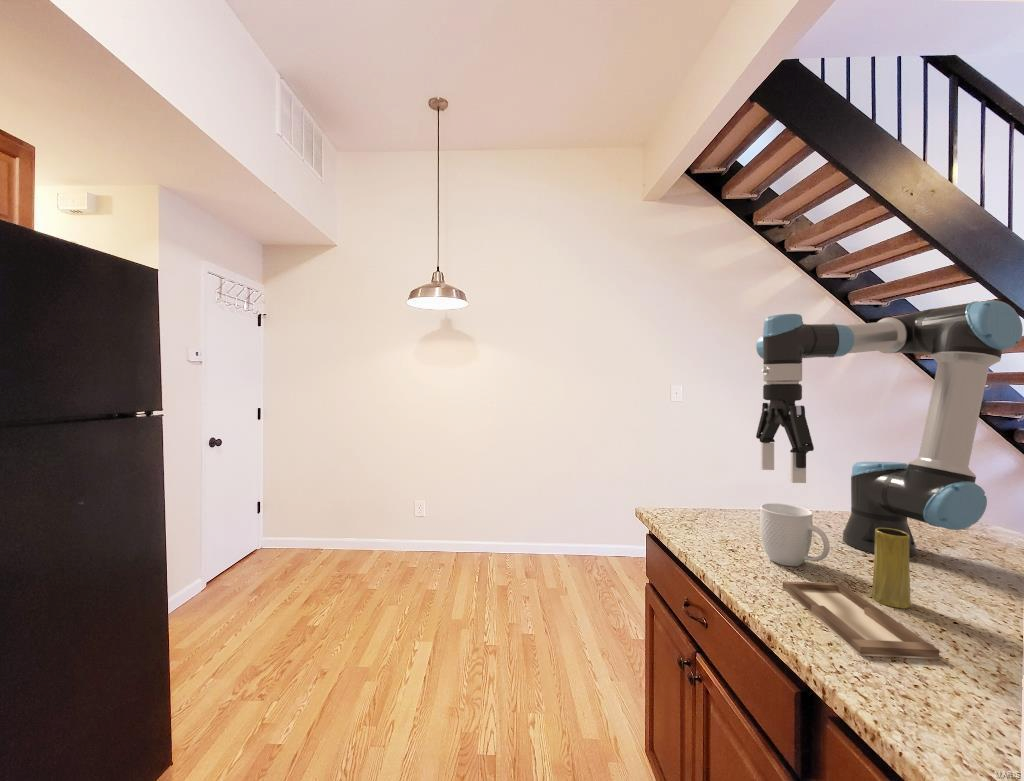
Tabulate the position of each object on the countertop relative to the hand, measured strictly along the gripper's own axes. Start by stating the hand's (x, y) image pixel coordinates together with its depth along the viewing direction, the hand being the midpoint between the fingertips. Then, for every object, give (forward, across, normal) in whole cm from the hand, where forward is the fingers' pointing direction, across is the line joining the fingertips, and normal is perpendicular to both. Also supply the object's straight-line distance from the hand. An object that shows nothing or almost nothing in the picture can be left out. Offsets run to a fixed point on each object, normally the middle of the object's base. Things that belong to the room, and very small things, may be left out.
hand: (781, 475), depth 98 cm
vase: (+24, +10, +16) cm, 30 cm away
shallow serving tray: (+23, +18, +4) cm, 29 cm away
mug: (+24, -8, +6) cm, 26 cm away
